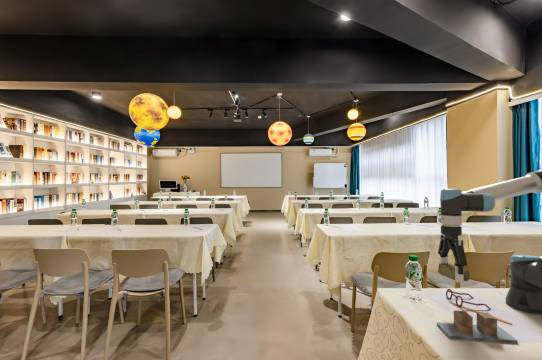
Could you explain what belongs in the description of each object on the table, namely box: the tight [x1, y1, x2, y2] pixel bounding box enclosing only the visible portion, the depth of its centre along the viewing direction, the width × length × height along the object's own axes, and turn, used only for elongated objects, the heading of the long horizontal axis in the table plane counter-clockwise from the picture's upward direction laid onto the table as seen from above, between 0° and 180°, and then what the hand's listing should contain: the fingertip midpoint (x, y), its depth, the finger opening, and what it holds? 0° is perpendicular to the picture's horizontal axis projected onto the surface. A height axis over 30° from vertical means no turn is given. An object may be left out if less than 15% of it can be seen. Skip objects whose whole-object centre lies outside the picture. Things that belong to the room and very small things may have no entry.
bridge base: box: [436, 310, 519, 344], centre depth 104 cm, size 22×10×7 cm, turn 83°
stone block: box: [437, 262, 470, 282], centre depth 120 cm, size 6×12×5 cm, turn 9°
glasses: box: [445, 288, 492, 310], centre depth 132 cm, size 13×13×5 cm
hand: (451, 276), depth 120 cm, fingers closed on stone block, 12 cm apart
